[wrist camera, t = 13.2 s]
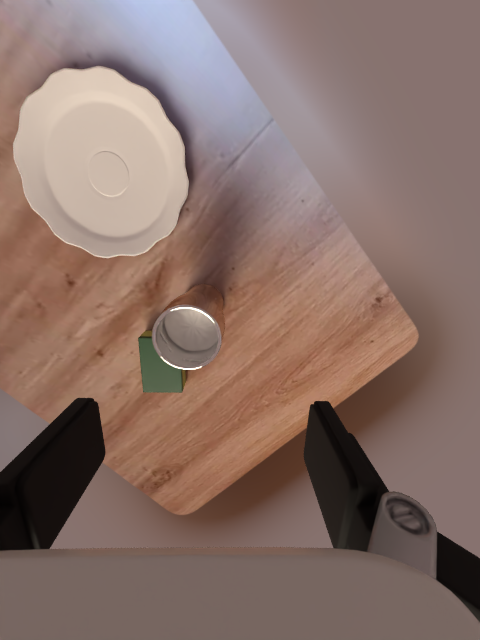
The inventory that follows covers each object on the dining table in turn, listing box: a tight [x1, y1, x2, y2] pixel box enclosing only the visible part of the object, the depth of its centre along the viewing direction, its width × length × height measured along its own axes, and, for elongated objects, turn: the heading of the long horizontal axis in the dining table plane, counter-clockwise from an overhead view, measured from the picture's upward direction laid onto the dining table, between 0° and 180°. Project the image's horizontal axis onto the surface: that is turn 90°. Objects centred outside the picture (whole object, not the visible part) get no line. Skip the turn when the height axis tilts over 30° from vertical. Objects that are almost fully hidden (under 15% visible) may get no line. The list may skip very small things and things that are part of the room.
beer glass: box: [152, 284, 225, 370], centre depth 30 cm, size 7×7×15 cm
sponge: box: [138, 331, 186, 393], centre depth 38 cm, size 9×6×3 cm, turn 178°
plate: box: [13, 66, 189, 258], centre depth 31 cm, size 21×21×2 cm
